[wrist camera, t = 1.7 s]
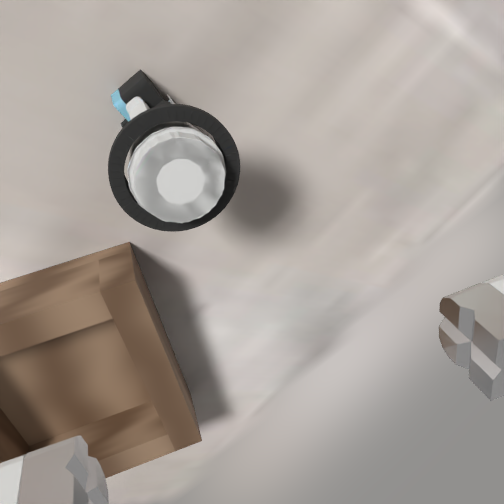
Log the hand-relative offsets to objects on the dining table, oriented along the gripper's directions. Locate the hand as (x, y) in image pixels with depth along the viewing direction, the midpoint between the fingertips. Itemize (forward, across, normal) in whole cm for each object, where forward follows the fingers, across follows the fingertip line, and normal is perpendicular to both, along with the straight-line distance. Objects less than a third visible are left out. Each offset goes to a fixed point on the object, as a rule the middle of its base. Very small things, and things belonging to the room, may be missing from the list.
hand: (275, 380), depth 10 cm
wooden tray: (+20, +11, +14) cm, 27 cm away
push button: (+21, 0, 0) cm, 21 cm away
